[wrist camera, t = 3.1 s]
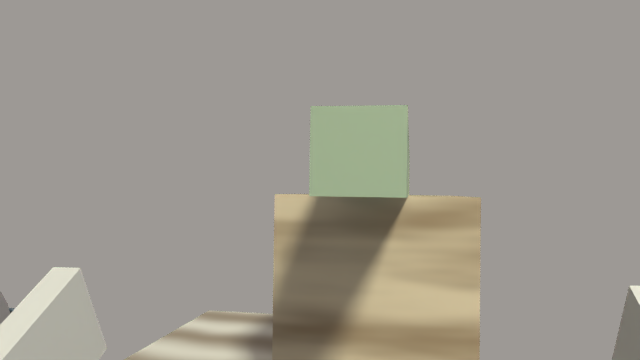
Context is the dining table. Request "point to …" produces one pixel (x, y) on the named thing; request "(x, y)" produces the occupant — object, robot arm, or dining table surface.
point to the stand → (355, 286)
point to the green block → (359, 151)
